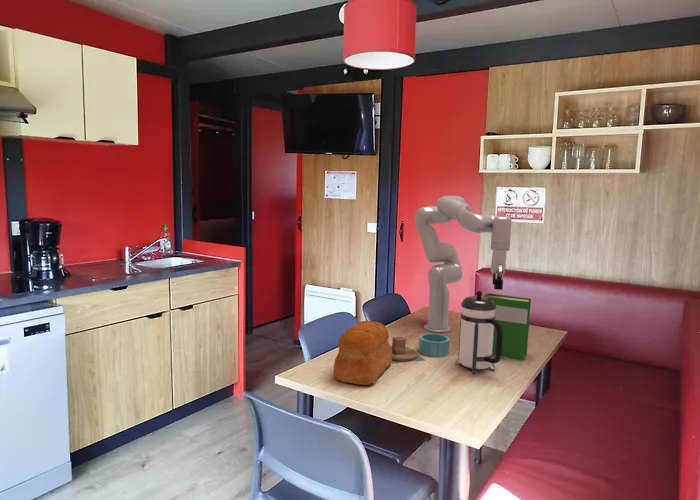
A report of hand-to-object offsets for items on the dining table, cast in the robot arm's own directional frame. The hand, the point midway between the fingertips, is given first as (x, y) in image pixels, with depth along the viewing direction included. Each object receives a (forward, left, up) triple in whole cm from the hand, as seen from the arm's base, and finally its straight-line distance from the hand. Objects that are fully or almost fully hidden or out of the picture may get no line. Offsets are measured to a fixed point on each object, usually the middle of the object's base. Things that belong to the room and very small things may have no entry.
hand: (497, 286), depth 201 cm
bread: (+9, -62, -27) cm, 68 cm away
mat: (-3, -43, -27) cm, 51 cm away
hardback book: (+5, +1, -28) cm, 28 cm away
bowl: (-3, -27, -27) cm, 38 cm away
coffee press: (+17, -19, -28) cm, 37 cm away
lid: (-3, -43, -27) cm, 50 cm away
